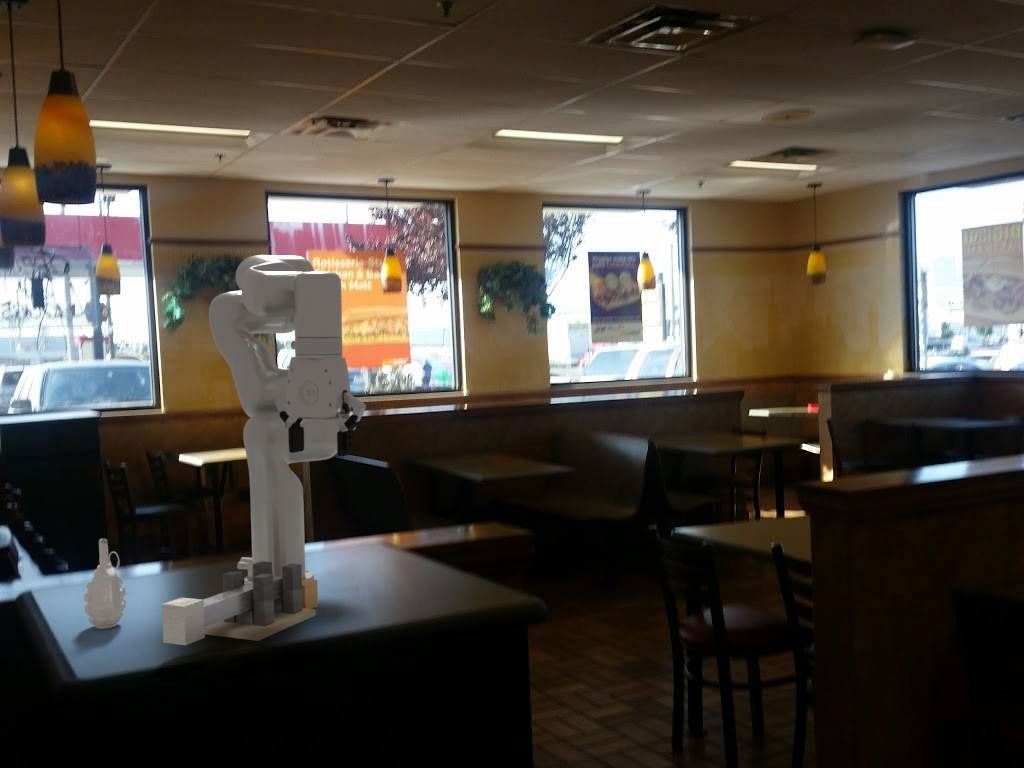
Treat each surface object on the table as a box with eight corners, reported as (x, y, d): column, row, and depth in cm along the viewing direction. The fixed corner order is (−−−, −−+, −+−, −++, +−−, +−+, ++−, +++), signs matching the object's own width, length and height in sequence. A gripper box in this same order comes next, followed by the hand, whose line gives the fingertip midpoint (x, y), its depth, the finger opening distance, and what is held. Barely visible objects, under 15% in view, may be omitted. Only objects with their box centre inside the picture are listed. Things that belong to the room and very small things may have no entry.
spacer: (273, 583, 173) (286, 577, 177) (274, 609, 173) (287, 604, 177) (304, 585, 171) (317, 580, 175) (305, 612, 171) (317, 606, 175)
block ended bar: (163, 642, 147) (161, 604, 147) (269, 601, 170) (268, 567, 170) (185, 645, 146) (184, 606, 146) (289, 603, 168) (288, 569, 168)
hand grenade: (78, 626, 165) (74, 539, 164) (116, 618, 169) (113, 533, 169) (98, 635, 160) (95, 545, 159) (137, 627, 164) (134, 539, 163)
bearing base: (199, 633, 160) (197, 578, 159) (260, 609, 173) (258, 558, 173) (258, 640, 155) (256, 584, 155) (315, 615, 169) (314, 563, 169)
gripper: (261, 348, 169) (263, 453, 170) (349, 350, 161) (350, 459, 162) (291, 347, 175) (292, 447, 177) (376, 348, 168) (377, 453, 169)
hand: (320, 453), depth 169 cm, fingers open, 9 cm apart
